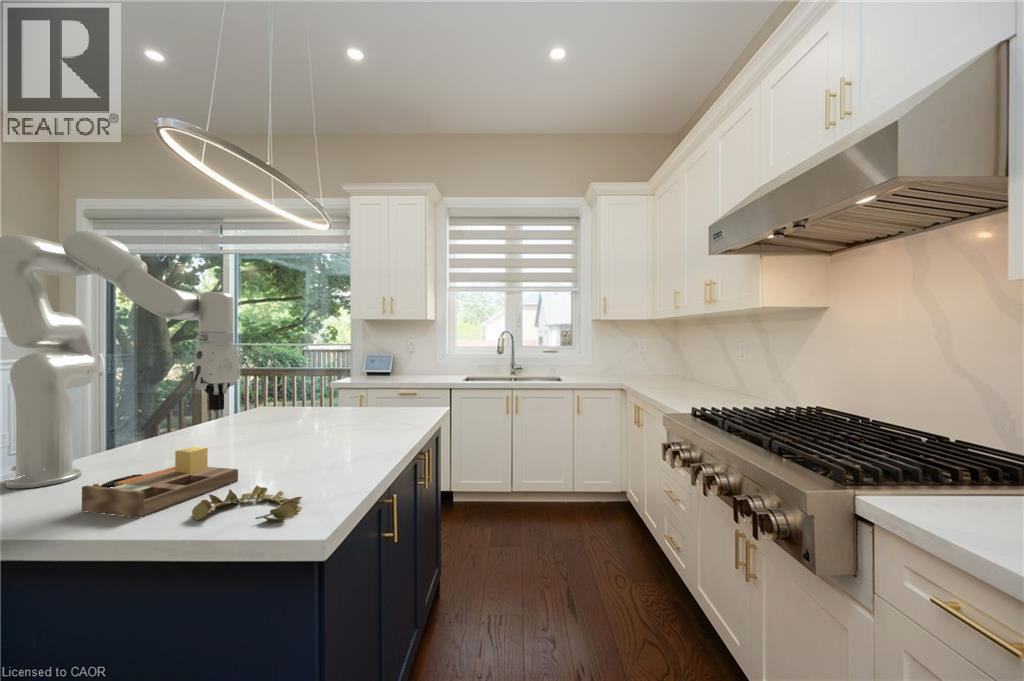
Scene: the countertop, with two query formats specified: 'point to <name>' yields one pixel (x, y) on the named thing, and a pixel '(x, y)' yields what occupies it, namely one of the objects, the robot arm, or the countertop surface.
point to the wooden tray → (155, 492)
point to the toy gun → (131, 478)
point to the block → (191, 459)
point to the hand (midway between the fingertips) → (216, 409)
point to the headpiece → (280, 513)
